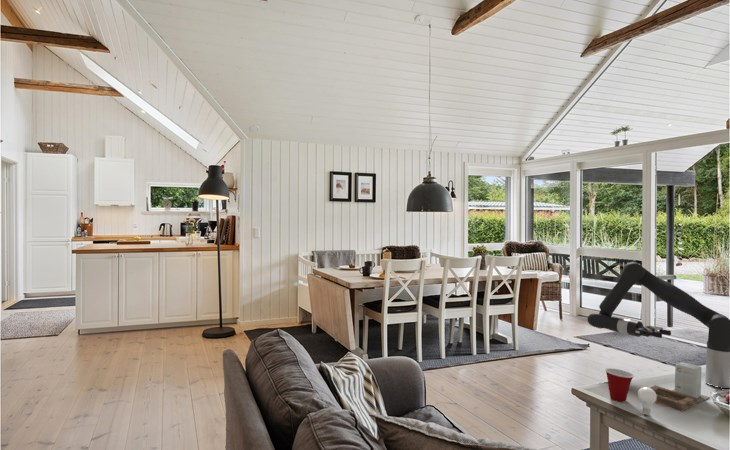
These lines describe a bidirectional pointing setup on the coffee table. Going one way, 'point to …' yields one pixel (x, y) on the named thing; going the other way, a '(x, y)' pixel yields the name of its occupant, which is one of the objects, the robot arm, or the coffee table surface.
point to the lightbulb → (647, 399)
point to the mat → (700, 398)
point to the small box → (688, 379)
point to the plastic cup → (618, 383)
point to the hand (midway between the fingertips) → (666, 334)
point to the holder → (679, 405)
